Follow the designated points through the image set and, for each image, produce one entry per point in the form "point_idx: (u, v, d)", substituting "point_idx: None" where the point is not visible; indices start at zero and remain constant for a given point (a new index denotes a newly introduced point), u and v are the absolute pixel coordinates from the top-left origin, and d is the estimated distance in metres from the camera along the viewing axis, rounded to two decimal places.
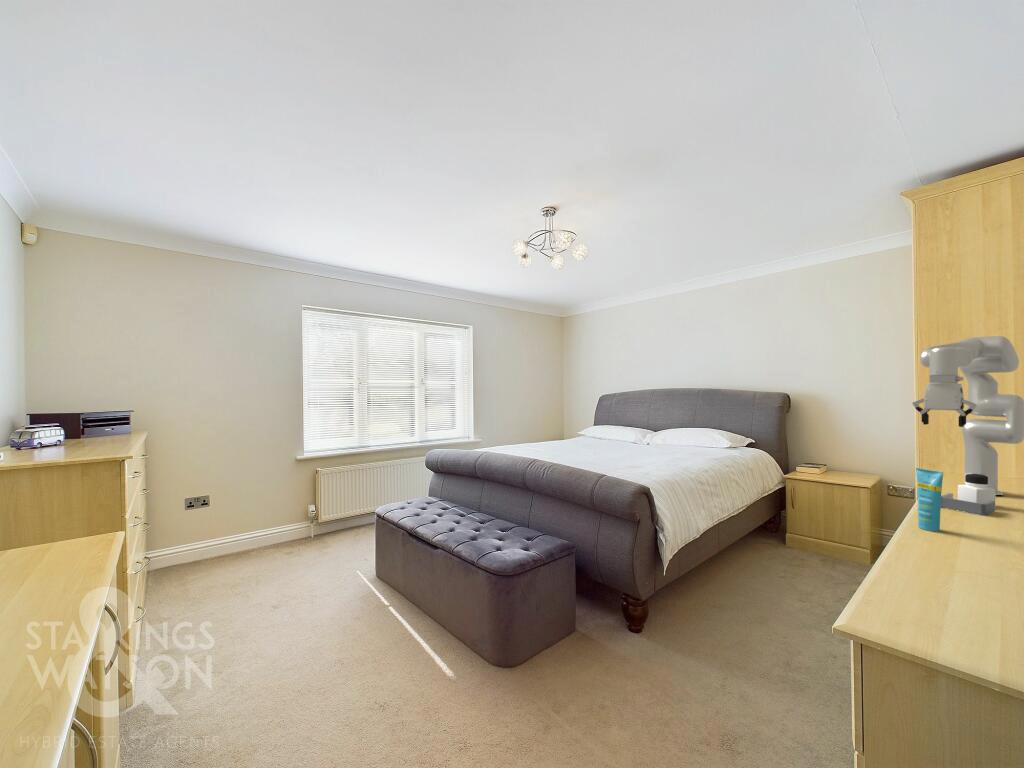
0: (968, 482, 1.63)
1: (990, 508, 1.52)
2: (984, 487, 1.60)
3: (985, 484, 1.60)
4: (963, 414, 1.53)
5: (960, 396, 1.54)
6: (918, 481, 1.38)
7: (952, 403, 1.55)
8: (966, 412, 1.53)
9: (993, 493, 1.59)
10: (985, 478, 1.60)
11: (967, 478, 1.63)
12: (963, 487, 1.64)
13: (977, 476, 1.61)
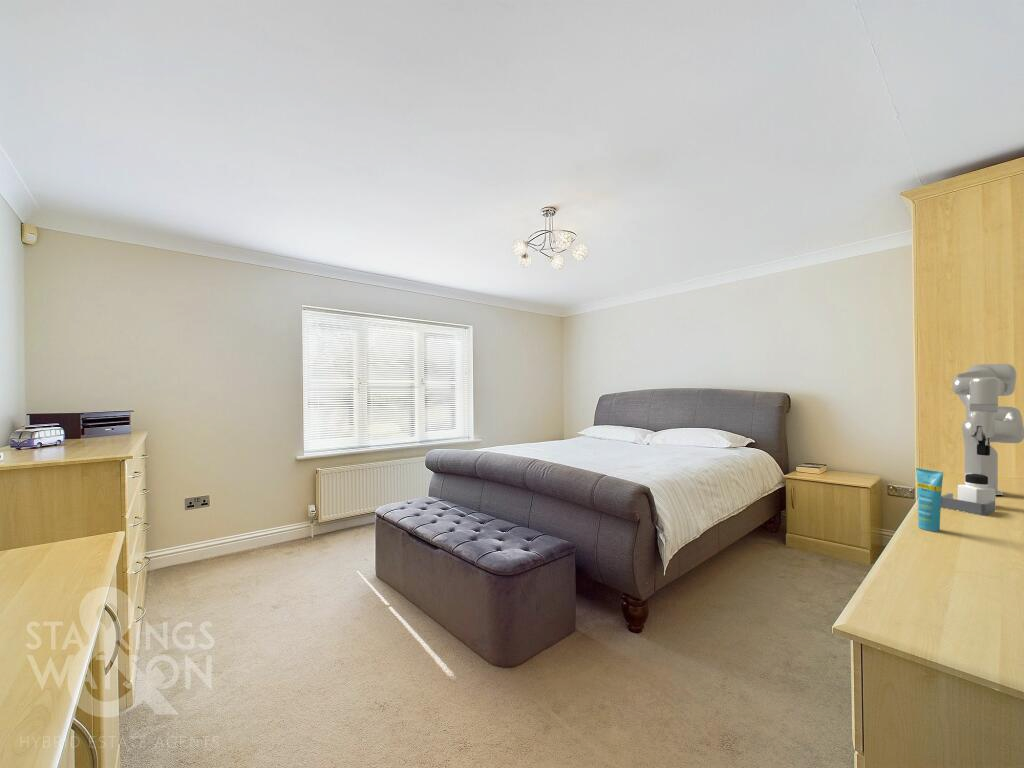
0: (968, 482, 1.63)
1: (990, 508, 1.52)
2: (984, 487, 1.60)
3: (985, 484, 1.60)
4: (988, 443, 1.66)
5: None
6: (918, 481, 1.38)
7: (994, 430, 1.66)
8: None
9: (993, 493, 1.59)
10: (985, 478, 1.60)
11: (967, 478, 1.63)
12: (963, 487, 1.64)
13: (977, 476, 1.61)
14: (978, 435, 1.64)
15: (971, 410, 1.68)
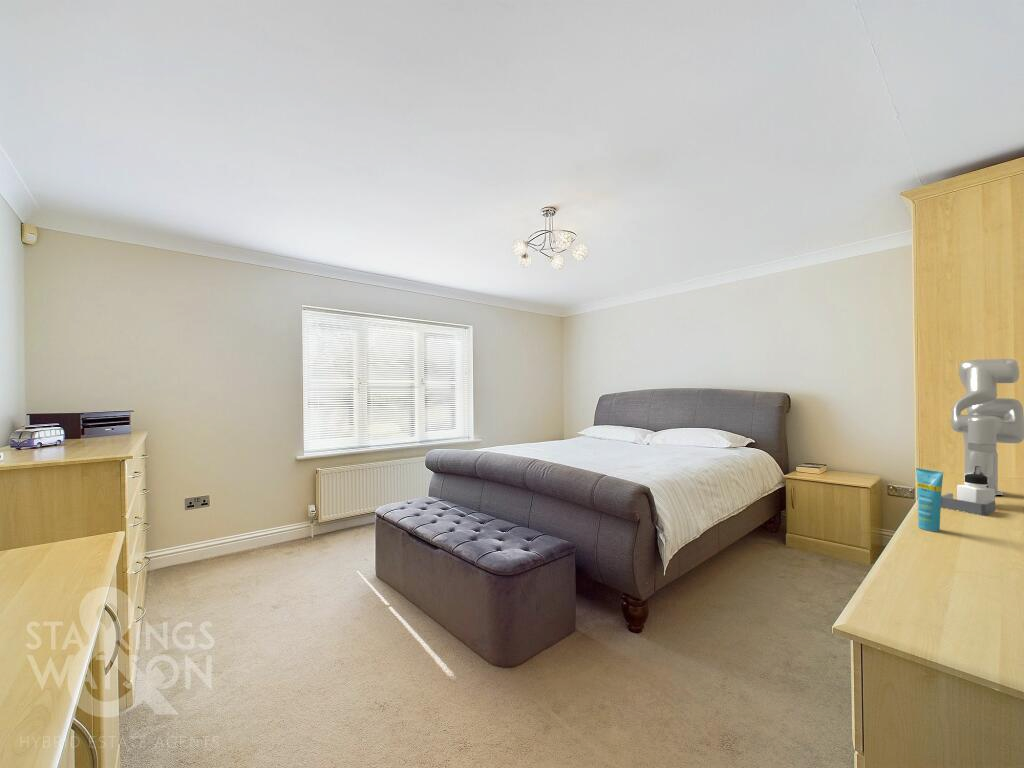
0: (967, 482, 1.62)
1: (990, 508, 1.52)
2: (983, 487, 1.59)
3: (984, 484, 1.59)
4: (987, 483, 1.65)
5: None
6: (918, 481, 1.38)
7: (992, 470, 1.65)
8: None
9: (992, 493, 1.59)
10: (984, 478, 1.59)
11: (966, 479, 1.63)
12: (962, 487, 1.64)
13: (976, 476, 1.60)
14: None
15: (969, 449, 1.67)
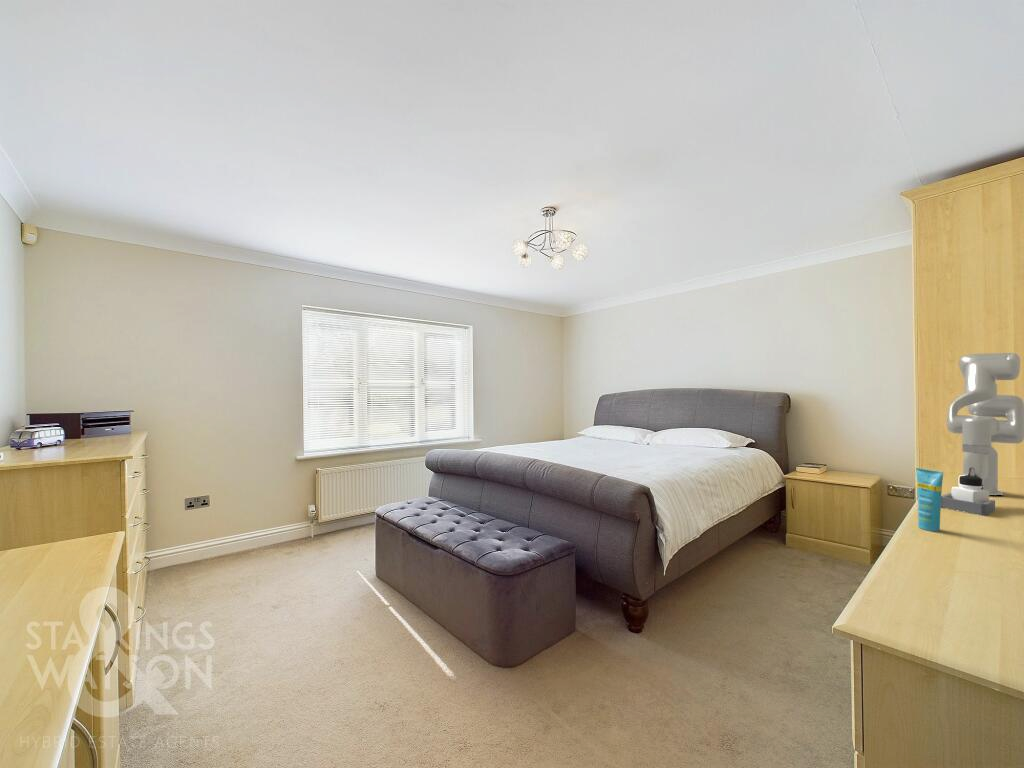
0: (963, 484, 1.59)
1: (990, 508, 1.52)
2: (979, 489, 1.57)
3: (980, 486, 1.57)
4: None
5: None
6: (918, 481, 1.38)
7: (987, 472, 1.62)
8: None
9: (987, 495, 1.56)
10: (980, 480, 1.57)
11: (962, 480, 1.59)
12: (958, 489, 1.60)
13: (972, 478, 1.57)
14: None
15: (964, 451, 1.64)
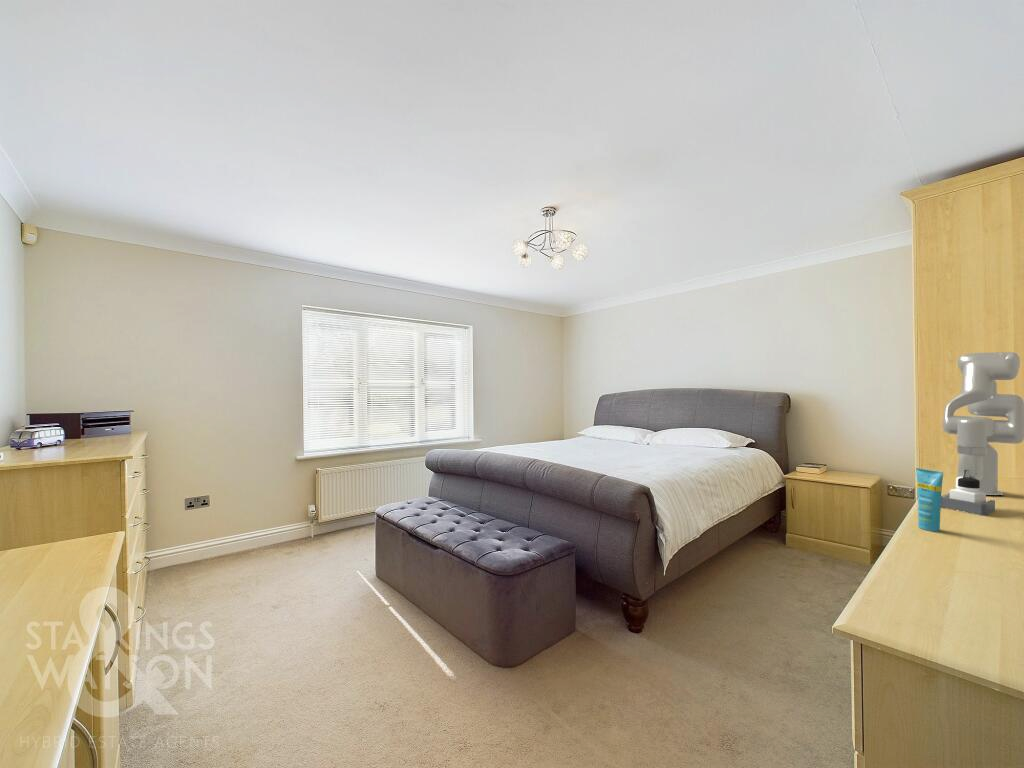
0: (963, 487, 1.56)
1: (990, 508, 1.52)
2: (978, 491, 1.54)
3: (979, 488, 1.54)
4: None
5: None
6: (918, 481, 1.38)
7: (982, 473, 1.60)
8: None
9: (984, 497, 1.54)
10: (978, 482, 1.54)
11: (961, 483, 1.56)
12: (957, 492, 1.57)
13: (972, 480, 1.54)
14: None
15: (959, 452, 1.61)
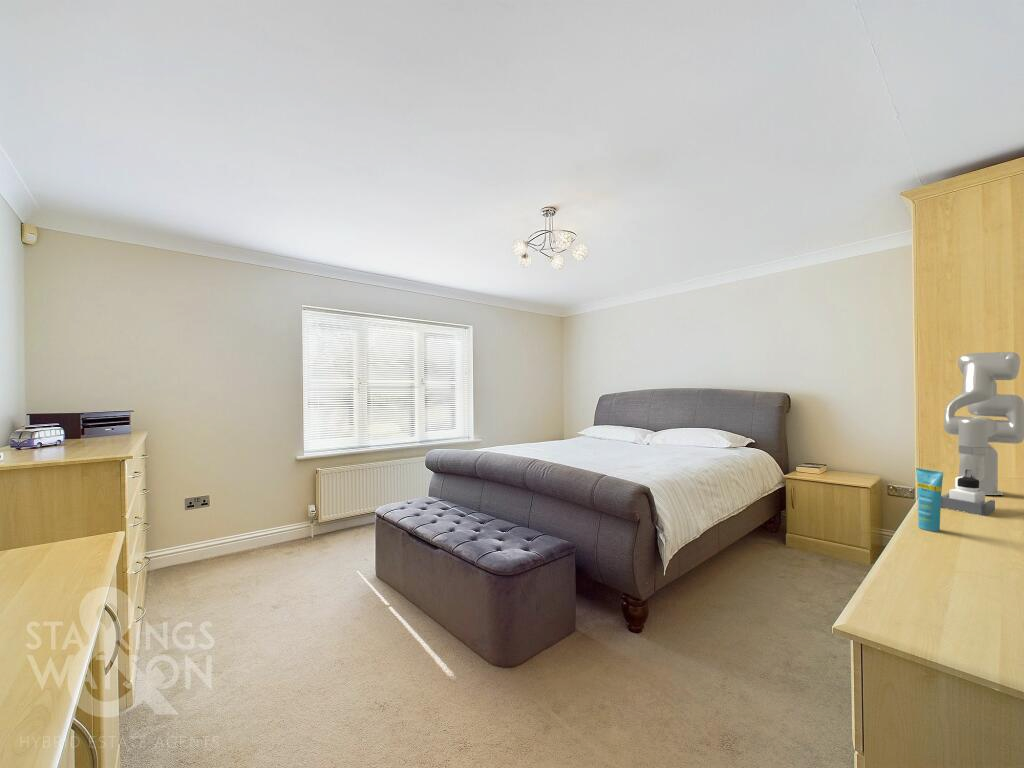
0: (963, 487, 1.55)
1: (990, 508, 1.52)
2: (977, 491, 1.54)
3: (978, 488, 1.54)
4: None
5: None
6: (918, 481, 1.38)
7: (983, 473, 1.60)
8: None
9: (984, 496, 1.54)
10: (978, 481, 1.54)
11: (961, 483, 1.56)
12: (957, 492, 1.56)
13: (972, 480, 1.54)
14: None
15: (960, 452, 1.62)
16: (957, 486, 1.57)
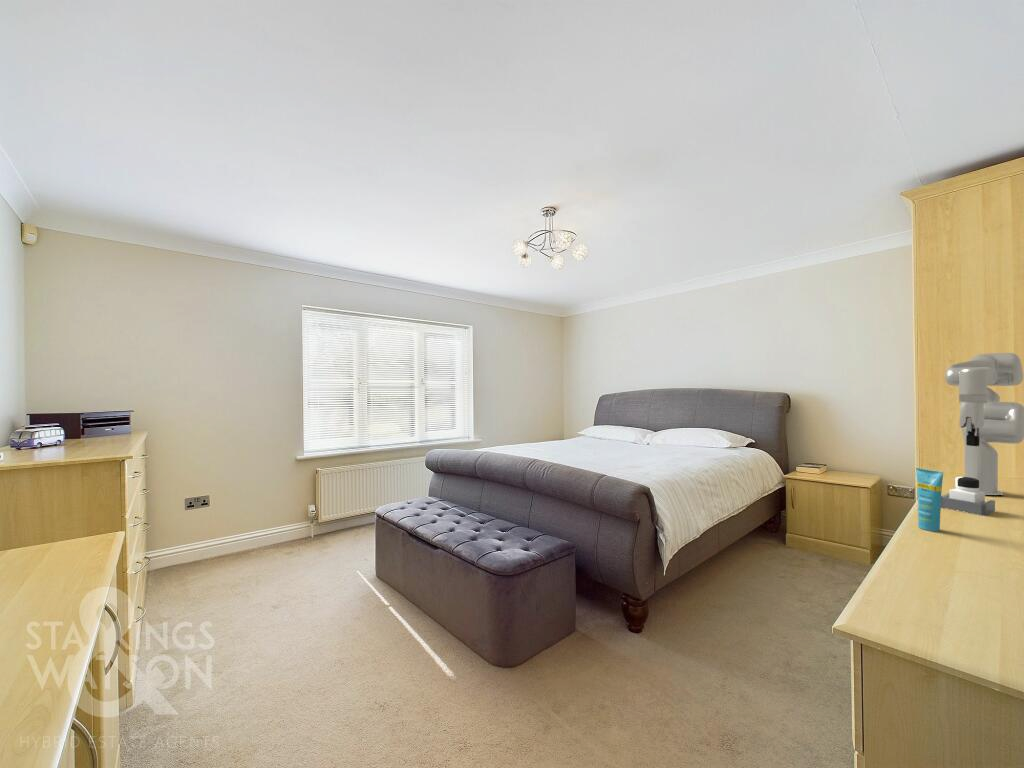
0: (963, 487, 1.55)
1: (990, 508, 1.52)
2: (977, 491, 1.54)
3: (978, 488, 1.54)
4: (978, 434, 1.65)
5: None
6: (918, 481, 1.38)
7: (983, 421, 1.65)
8: None
9: (984, 496, 1.54)
10: (978, 481, 1.54)
11: (961, 483, 1.56)
12: (957, 492, 1.56)
13: (972, 480, 1.54)
14: (967, 426, 1.64)
15: (960, 401, 1.67)
16: (957, 486, 1.57)
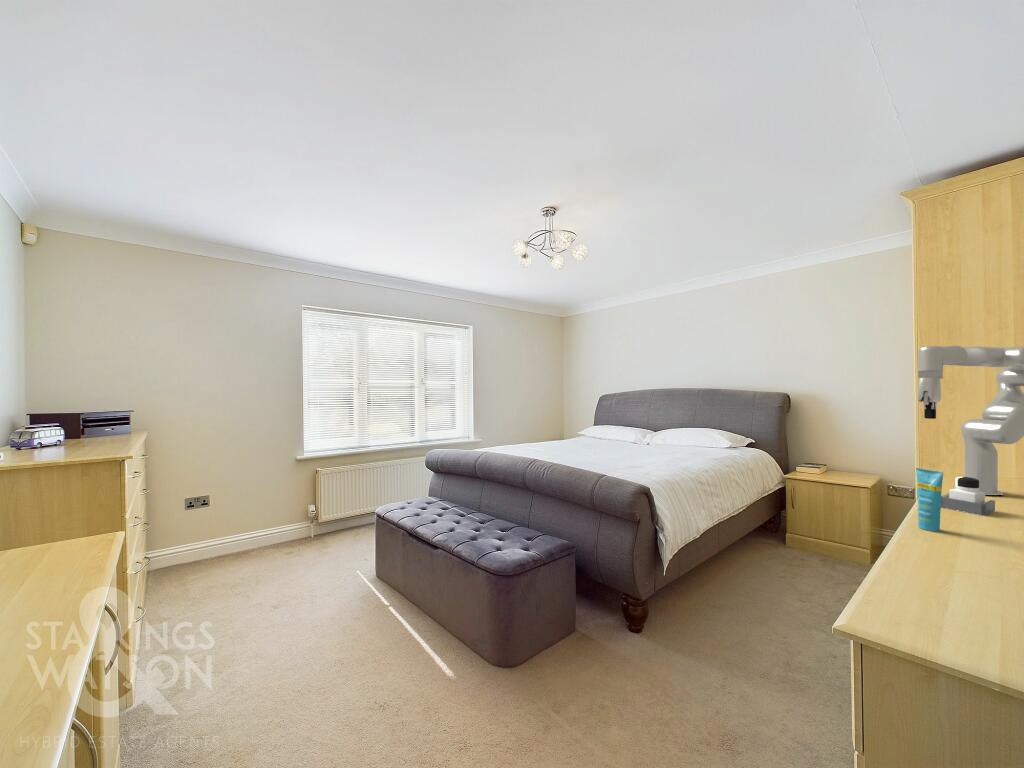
0: (963, 487, 1.55)
1: (990, 508, 1.52)
2: (977, 491, 1.54)
3: (978, 488, 1.54)
4: (935, 408, 1.78)
5: None
6: (918, 481, 1.38)
7: (940, 395, 1.78)
8: None
9: (984, 496, 1.54)
10: (978, 481, 1.54)
11: (961, 483, 1.56)
12: (957, 492, 1.56)
13: (972, 480, 1.54)
14: (924, 399, 1.76)
15: (919, 377, 1.80)
16: (957, 486, 1.57)
